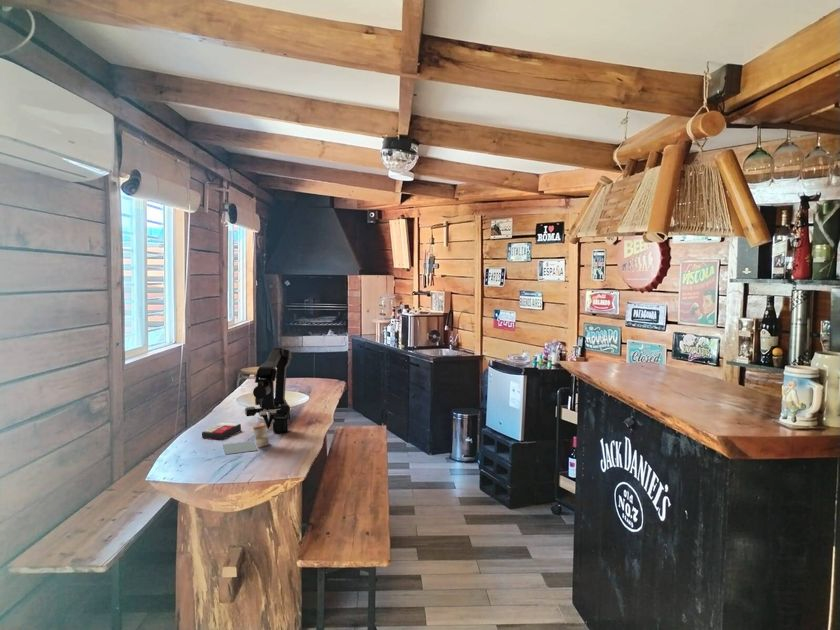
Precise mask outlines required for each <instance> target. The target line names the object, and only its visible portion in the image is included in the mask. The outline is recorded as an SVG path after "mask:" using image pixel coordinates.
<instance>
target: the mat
mask: <svg viewBox="0 0 840 630" xmlns="http://www.w3.org/2000/svg"><path fill="white" fill-rule="evenodd" d="M222 446H223V450H224V454H225V455H234V454H235V455H236V454H242V452H243V453H249V452H250V451H251V452H259V449H258V447H257V445H256V442H254V440H249V441H248V440H247V441H243V442H242V441H240V442H234V443H233V442H232V443H225V444H222ZM251 452H250V453H251Z"/></svg>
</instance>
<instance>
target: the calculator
mask: <svg viewBox="0 0 840 630" xmlns="http://www.w3.org/2000/svg"><path fill="white" fill-rule="evenodd" d="M239 431H240V432H241V431H242V426H241V424H240V423H237V422H235V423H234V422H223V421H221V422H219V423H217V424H214V425H211V426H210V427H208V428H207V429H205V430H203V431H202V432H201V438H202V437H203V438H202V439H209V438H211V439H212V440H220V441H223V440H224V439H227V438H229V437H230V436H233V435H235V434H237V432H238V433H239ZM211 439H210V440H211Z"/></svg>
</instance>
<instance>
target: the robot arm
mask: <svg viewBox="0 0 840 630" xmlns="http://www.w3.org/2000/svg"><path fill="white" fill-rule="evenodd" d="M270 351H271V352H270V354H269V356H268V358H267V360H266V361H265V362H263V363H261V364H260V366H258V368H257V371H256V376H255V381H254V383H256V384H257V386H255V387H254V389H253V391H252V395H253V397H254V403H255V406H259V408H256V407H255V406H249V407H245V409H244V414H245V416H246V417H253V416H254V417H255V416H256V415H257V414H258V415H259V416H260V417H262V419H263V421H264V423H265V425H266V429H267V430H269V429H270V427H271V431H272V432H273V433H274V434H281V433H282V434H283V432H284V433H289V430H288V429H289V428H288V427H289V426H288V425H289V424H288V420H291V406H290V405H289V404H288V402H287V400H286V397H285V396H286V383H287V382H286V381H287V380H286V379H287V368H288V367H289V365H290V364H291V360H292V359H293V356H292V355H293V354H292V352H291V350H289V349H286V348H284V347H281V346H280V347H279V346H278V347H276V346H275V347H271V350H270ZM274 383H275V384H274ZM274 386H275V388H274ZM271 425H272V426H271Z"/></svg>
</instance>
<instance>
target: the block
mask: <svg viewBox="0 0 840 630" xmlns="http://www.w3.org/2000/svg"><path fill="white" fill-rule="evenodd" d="M252 429H253V435H254V440H255V442H254V443H255V445H256V447H257V448H261V447H266V446H268V445H270V441H269V436H268V432H267V431H268V429H267V426H266V423H265V421H264V422H260V423H255V424H252Z"/></svg>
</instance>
